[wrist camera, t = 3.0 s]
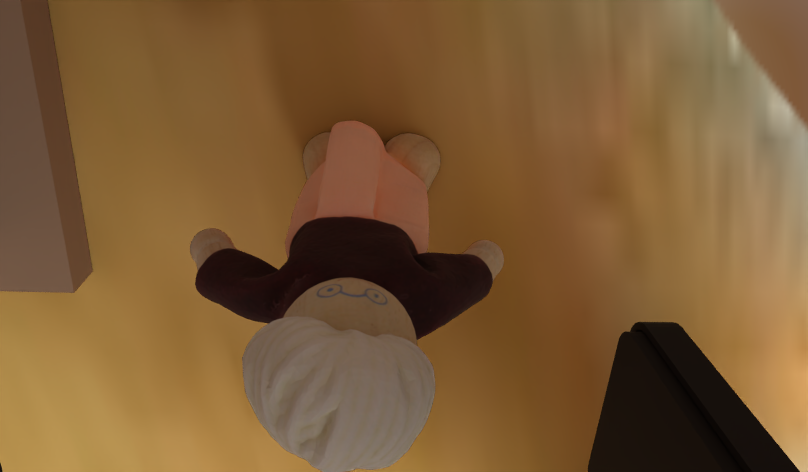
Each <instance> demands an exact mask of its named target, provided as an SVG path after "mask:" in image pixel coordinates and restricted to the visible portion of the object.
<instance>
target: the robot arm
mask: <svg viewBox="0 0 808 472" xmlns="http://www.w3.org/2000/svg"><path fill="white" fill-rule="evenodd" d="M0 472H2V467H1V464H0ZM588 472H800V471H799V470H798V469H797V467H796V466H795V465H794V464H793V463H792V461H791V460H790V459H789V458H788V456H787V455H786V454H785V453H784V452H783V450H782V449H781V448H780V447H779V445H778V444H777V443H776V442H775V441H774V439H773V438H772V437H771V436H770V434H769V433H768V432H767V431H766V430H765V428H764V427H763V426H762V425H761V423H760V422H759V421H758V420H757V419H756V417H755V416H754V415H753V414H752V412H751V411H750V410H749V409H748V408H747V406H746V405H745V404H744V403H743V401H742V400H741V399H740V398H739V397H738V395H737V394H736V393H735V392H734V390H733V389H732V388H731V387H730V386H729V384H728V383H727V382H726V381H725V379H724V378H723V377H722V376H721V375H720V373H719V372H718V371H717V370H716V368H715V367H714V366H713V365H712V364H711V362H710V361H709V360H708V359H707V357H706V356H705V355H704V354H703V353H702V351H701V350H700V349H699V348H698V346H697V345H696V344H695V343H694V342H693V340H692V339H691V338H690V337H689V335H688V334H687V333H686V332H685V331H684V329H683V328H682V327H681V326H680V325H679V324H677V323H673V322H638V323H635V324H634V325H633V327H632V328H631V331H630V332H624V333H622V334H621V336H620V338H619V341H618V345H617V350H616V354H615V358H614V362H613V366H612V370H611V374H610V378H609V382H608V386H607V391H606V395H605V399H604V403H603V407H602V411H601V415H600V419H599V423H598V428H597V432H596V436H595V440H594V444H593V448H592V452H591V456H590V460H589V465H588Z"/></svg>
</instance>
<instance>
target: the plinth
mask: <svg viewBox="0 0 808 472" xmlns="http://www.w3.org/2000/svg"><path fill="white" fill-rule="evenodd" d="M92 272H93V271H92V265H91V259H90V253H89V247H88V241H87V235H86V229H85V223H84V217H83V211H82V205H81V199H80V193H79V187H78V181H77V175H76V169H75V163H74V157H73V151H72V145H71V140H70V134H69V128H68V122H67V116H66V110H65V104H64V98H63V92H62V86H61V80H60V74H59V68H58V62H57V56H56V50H55V44H54V38H53V32H52V26H51V20H50V14H49V8H48V3H47V0H0V291H21V292H66V293H74V292H75V291H76V290H77V289H78V288H79V287H80V285H81V284H82V283H83V282H84V281H85V280H86V278H87V277H88V276H89V275H90V274H91V273H92Z"/></svg>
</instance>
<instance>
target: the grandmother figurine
mask: <svg viewBox="0 0 808 472" xmlns="http://www.w3.org/2000/svg"><path fill="white" fill-rule="evenodd" d="M440 161H441V160H440V154H439V151H438V149H437V147H436V146H435V144H434V143H433V142H431V141H430V140H429V139H427V138H425V137H423V136H420V135H416V134H412V133H405V134H400V135H398V136H395V137H393V138H392V139H391V140H389V141H388V142H387V144H386V145H385V147H384V144H383V142H382V140H381V139H380V137H379V135H378V133H377V132H376V131H375V130H374V129H373V128H371V127H370V126H368V125H366V124H364V123H361V122H359V121H343V122H338V123H336V124H335V125H334V126H333V127H332V130H331V132H326V133H321V134H319V135H316V136H315V137H314V138H312V139H311V140H310V141H309V142H308V143H307V145H306V147H305V149H304V153H303V163H304V168H305V172H306V176H307V182H306V183H305V185H304V187H303V189H302V192H301V194H300V196H299V198H298V200H297V203H296V205H295V208H294V211H293V214H292V217H291V223H290V227H289V230H288V233H287V237H286V241H285V247H286V253H287V257H288V261H287V262H286V263H285V264H284V265H283V266H282V267H281V268H280V269H279V270H278V269H276V268H274V267H273V266H271V265H270V264H268V263H266V262H265V261H263V260H261V259H259V258H257V257H255V256H252V255H250V254H247V253H245V252H242V251H239V250H237V249H236V248H235V247H234V245H233V243H232V241H231V239H230V238H229V237H228V236H227V235H226V234H225V233H224V232H222V231H221V230H218V229H214V228H210V229H205V230H203V231H201V232H199V233H198V234H196V235H195V236H194V238H193V240H192V241H191V245H190V253H191V256H192V258H193V260H194V261H195V262H196V264H197V269H198V273H197V276H196V282H195V285H196V289H197V290H198V292H199V293H200V294H201V295H202V296H204V297H205V298H207V299H209V300H211V301H213V302H215V303H218V304H220V305H222V306H223V307H225V308H227V309H229V310H231V311H232V312H234V313H236V314H237V315H240V316H242V317H244V318H247V319H250V320H253V321H258V322H264V323H269V324H267V325H266V326H264V327H263V328H262V329H260V330H259V331H258V332H257V333H256V334H255V335H254V336H253V337H252V339H251V341H250V342H249V344H248V345H247V347H246V349H245V352H244V355H243V357H242V362H243V378H244V385H245V392H246V395H247V398H248V400H249V402H250V404H251V406H252V408H253V410H254V412H255V414H256V416H257V418H258V420H259V421H260V423H261V424H262V425H263V427H264V428H265V429H266V430H267V431H268V433H269V434H270V435H271V437H272V438H273V439H274V440H276V441H277V442H278V443H279V444H280V446H281V447H283V448H284V449H285V450H286V451H288V452H290V453H292V454H295V455H297V456H299V457H301V458H303V459H305V460H307V461H308V462H309V463H310V464H311V465H312V466H313V467H315V468H317V469H319V470H321V471H323V472H344V471H351V470H355V469H356V468H358V469H369V470H374V469H381V468H385V467H389V466H390V465H392V464H394V463H395V462H397V461H398V460H399V459H400V458H401V457H402V456H403V455H404V454H405V453H406V452H407V451H408V450H409V448H410V447H411V445H412V443H413V442H414V440H415V439H416V437H417V436H418V435H419V433H420V432H421V431H422V429H423V427H424V425H425V423H426V421H427V419H428V416H429V413H430V411H431V407H432V404H433V400H434V395H435V377H434V370H433V366H432V364H431V362H430V361H429V359H428V358H427V356H426V355H425V354H424V353H423V352H422V350H421V349H420V348H419V347H418V346H417V340H418V339H420V338H421V337H423V336H425V335H427V334H429V333H431V332H433V331H434V330H436V329H437V328H439V327H441V326H443V325H445V324H446V323H448V322H449V321H450V320H452V319H453V318H455V317H457V316H458V315H459V314H461V313H462V312H464V311H465V310H467V309H468V308H470V307H471V306H473V305H474V304H476V303H477V302H479V301H481V300H482V299H483V298H484V297H486V296H487V294H488V293H489V291H490V289H491V287H492V283H493V280H494V279H495V276H496V275H497V274H498V273H499V272H500V271H501V269H502V267H503V264H504V256H503V253H502V250H501V249H500V247H499V246H498V245H497V244H495V243H494V242H492V241H488V240H479V241H477V242H475V243H473V244H472V245H471V246H469V247H468V249H467V250H466V251H465V252H464V253H463V254H444V253H426V252H427V249H428V240H429V216H428V212H429V206H428V197H427V191H428V189H429V187H430V185H431V184H432V182H433V180H434V178H435V177H436V175H437V173H438V170H439V167H440Z"/></svg>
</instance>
